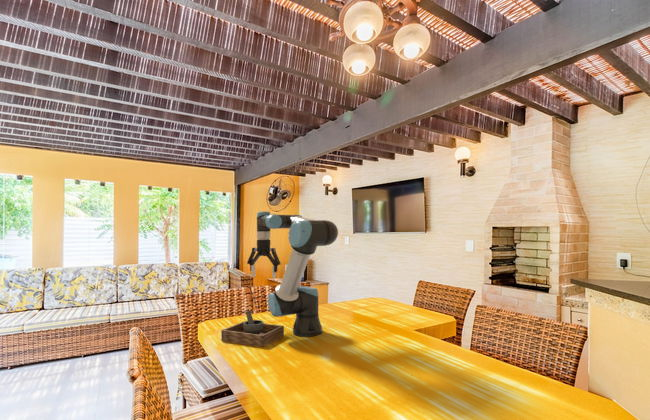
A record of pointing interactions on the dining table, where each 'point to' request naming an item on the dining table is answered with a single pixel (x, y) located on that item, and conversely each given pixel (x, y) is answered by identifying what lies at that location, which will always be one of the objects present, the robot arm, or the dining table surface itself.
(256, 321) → the mortar and pestle
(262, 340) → the crate
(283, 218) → the robot arm
